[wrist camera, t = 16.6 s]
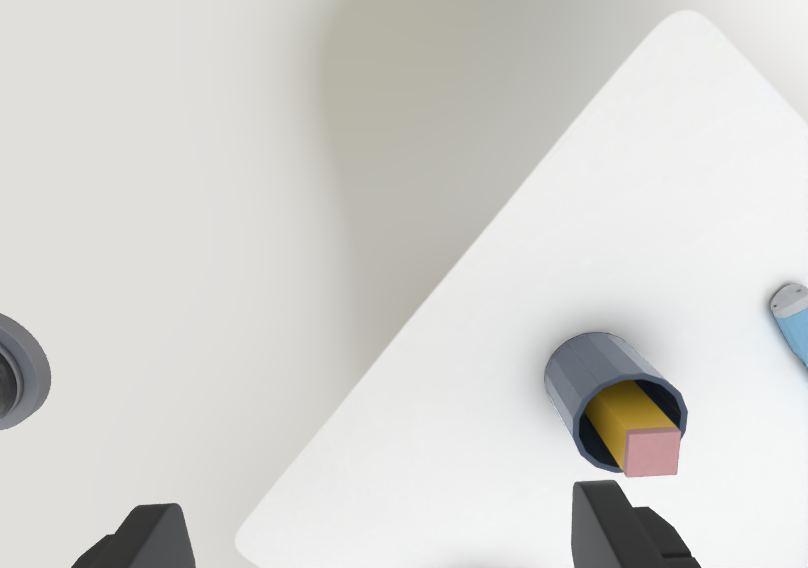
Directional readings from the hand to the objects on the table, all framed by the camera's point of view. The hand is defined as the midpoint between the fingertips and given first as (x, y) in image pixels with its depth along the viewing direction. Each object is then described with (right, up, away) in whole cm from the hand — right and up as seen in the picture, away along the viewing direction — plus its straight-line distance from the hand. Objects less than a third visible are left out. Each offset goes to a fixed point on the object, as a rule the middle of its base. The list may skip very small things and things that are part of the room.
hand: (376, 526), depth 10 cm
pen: (+38, -2, +34) cm, 51 cm away
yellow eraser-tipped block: (+18, -4, +34) cm, 38 cm away
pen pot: (+18, -3, +34) cm, 39 cm away
